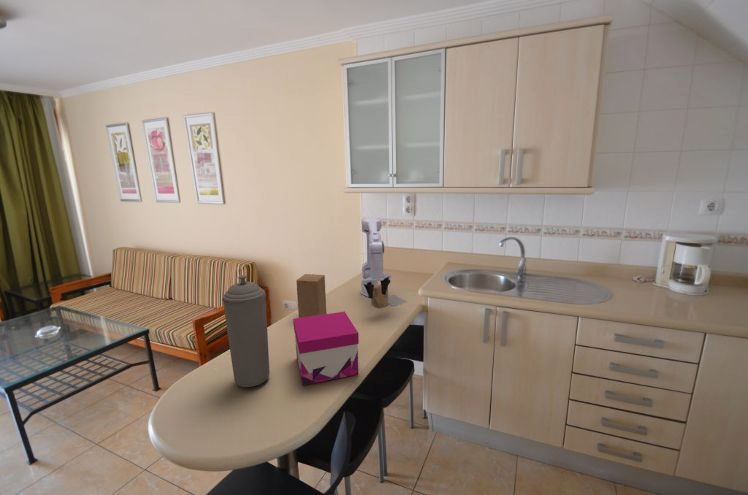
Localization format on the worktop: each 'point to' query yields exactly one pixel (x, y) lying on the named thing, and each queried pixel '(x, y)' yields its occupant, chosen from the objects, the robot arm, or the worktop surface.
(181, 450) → the worktop surface
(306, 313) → the wooden block
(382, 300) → the brown teal box
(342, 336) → the decorative box
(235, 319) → the canister
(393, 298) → the mat
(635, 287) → the worktop surface
